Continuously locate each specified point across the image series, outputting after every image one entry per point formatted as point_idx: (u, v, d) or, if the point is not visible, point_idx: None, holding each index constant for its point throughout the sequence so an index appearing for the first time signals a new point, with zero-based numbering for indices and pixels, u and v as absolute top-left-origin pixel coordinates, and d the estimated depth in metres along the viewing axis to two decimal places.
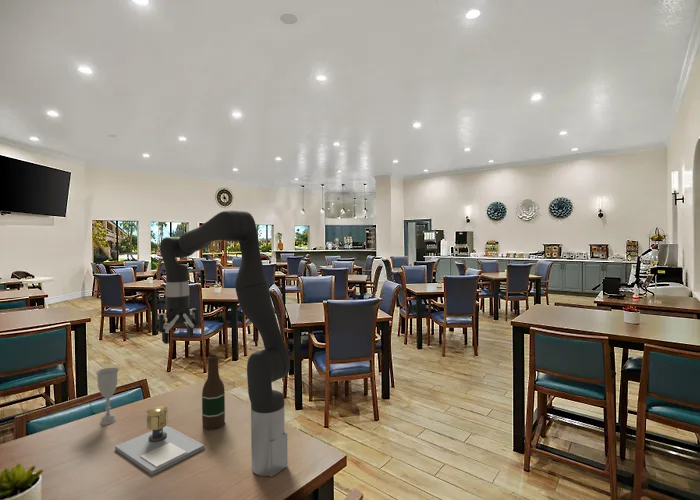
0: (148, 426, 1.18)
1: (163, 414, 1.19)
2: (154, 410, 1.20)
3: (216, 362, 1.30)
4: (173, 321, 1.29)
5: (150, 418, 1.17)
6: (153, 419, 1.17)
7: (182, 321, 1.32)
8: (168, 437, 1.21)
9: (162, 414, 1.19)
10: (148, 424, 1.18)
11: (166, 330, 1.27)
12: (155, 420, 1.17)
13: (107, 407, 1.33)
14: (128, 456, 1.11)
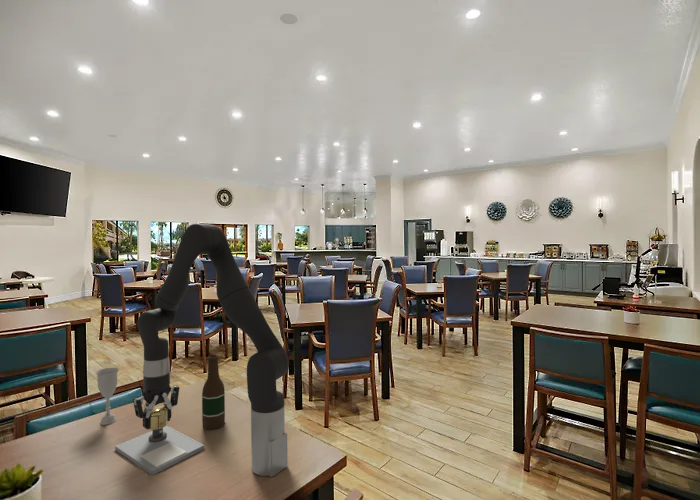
0: None
1: (163, 414, 1.19)
2: (154, 410, 1.20)
3: (216, 362, 1.30)
4: (151, 403, 1.17)
5: (150, 418, 1.17)
6: (153, 419, 1.17)
7: (162, 401, 1.20)
8: (168, 437, 1.21)
9: (162, 414, 1.19)
10: None
11: (147, 415, 1.16)
12: (155, 420, 1.17)
13: (107, 407, 1.33)
14: (128, 456, 1.11)
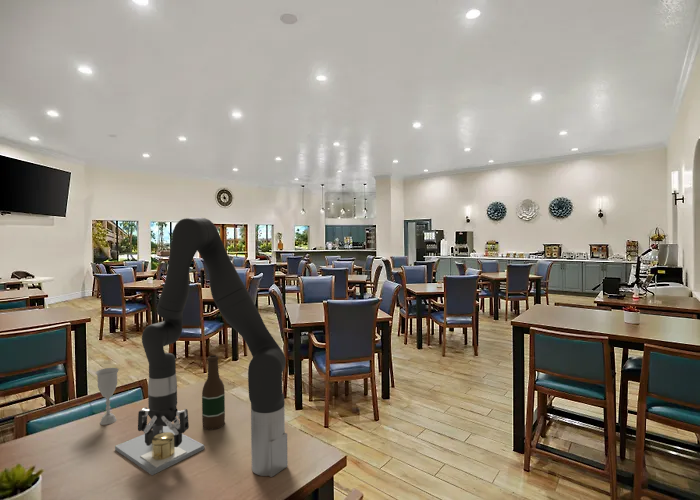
0: None
1: (159, 446, 1.08)
2: (161, 436, 1.11)
3: (216, 362, 1.30)
4: (151, 422, 1.09)
5: None
6: (152, 446, 1.09)
7: (164, 424, 1.09)
8: None
9: (158, 445, 1.08)
10: None
11: (145, 430, 1.10)
12: (153, 448, 1.08)
13: (107, 407, 1.33)
14: (128, 456, 1.11)
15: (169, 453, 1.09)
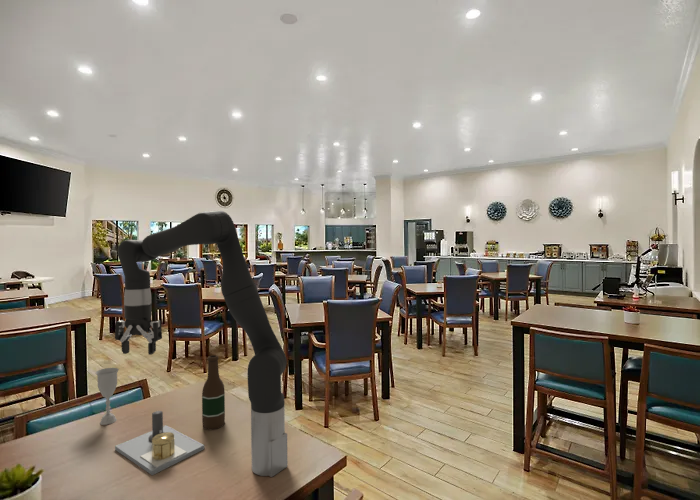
0: None
1: (159, 446, 1.08)
2: (161, 436, 1.11)
3: (216, 362, 1.30)
4: (127, 331, 1.18)
5: None
6: (152, 446, 1.09)
7: (139, 333, 1.19)
8: None
9: (158, 445, 1.08)
10: None
11: (121, 339, 1.19)
12: (153, 448, 1.08)
13: (107, 407, 1.33)
14: (128, 456, 1.11)
15: (169, 453, 1.09)
